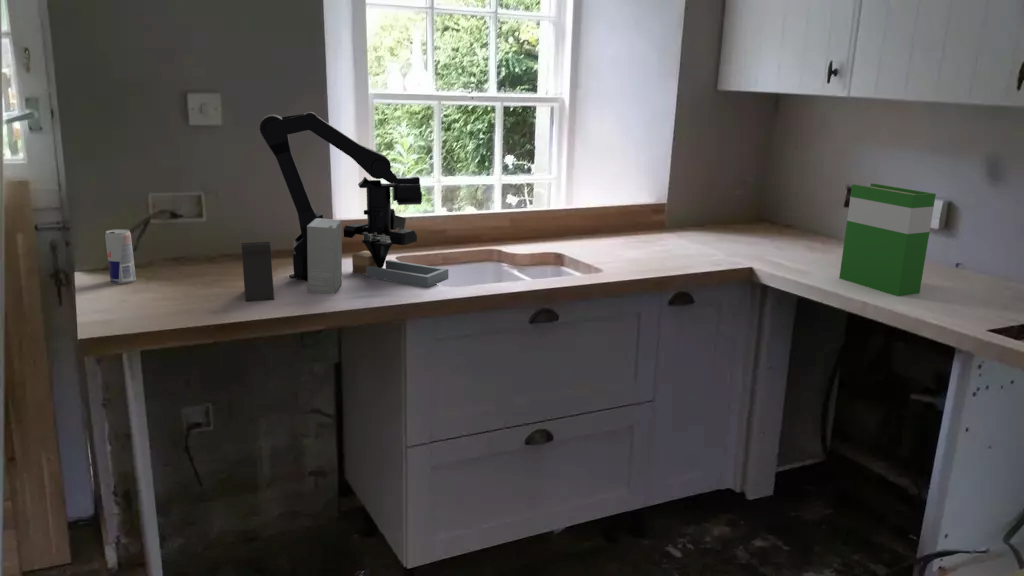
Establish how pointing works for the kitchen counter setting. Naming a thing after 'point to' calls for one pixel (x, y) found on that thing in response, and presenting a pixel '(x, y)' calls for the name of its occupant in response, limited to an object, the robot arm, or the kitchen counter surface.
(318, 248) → the skincare box
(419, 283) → the slate channel
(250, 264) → the dark grey upright block
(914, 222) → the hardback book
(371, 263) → the walnut block
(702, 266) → the kitchen counter surface
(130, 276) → the energy drink
